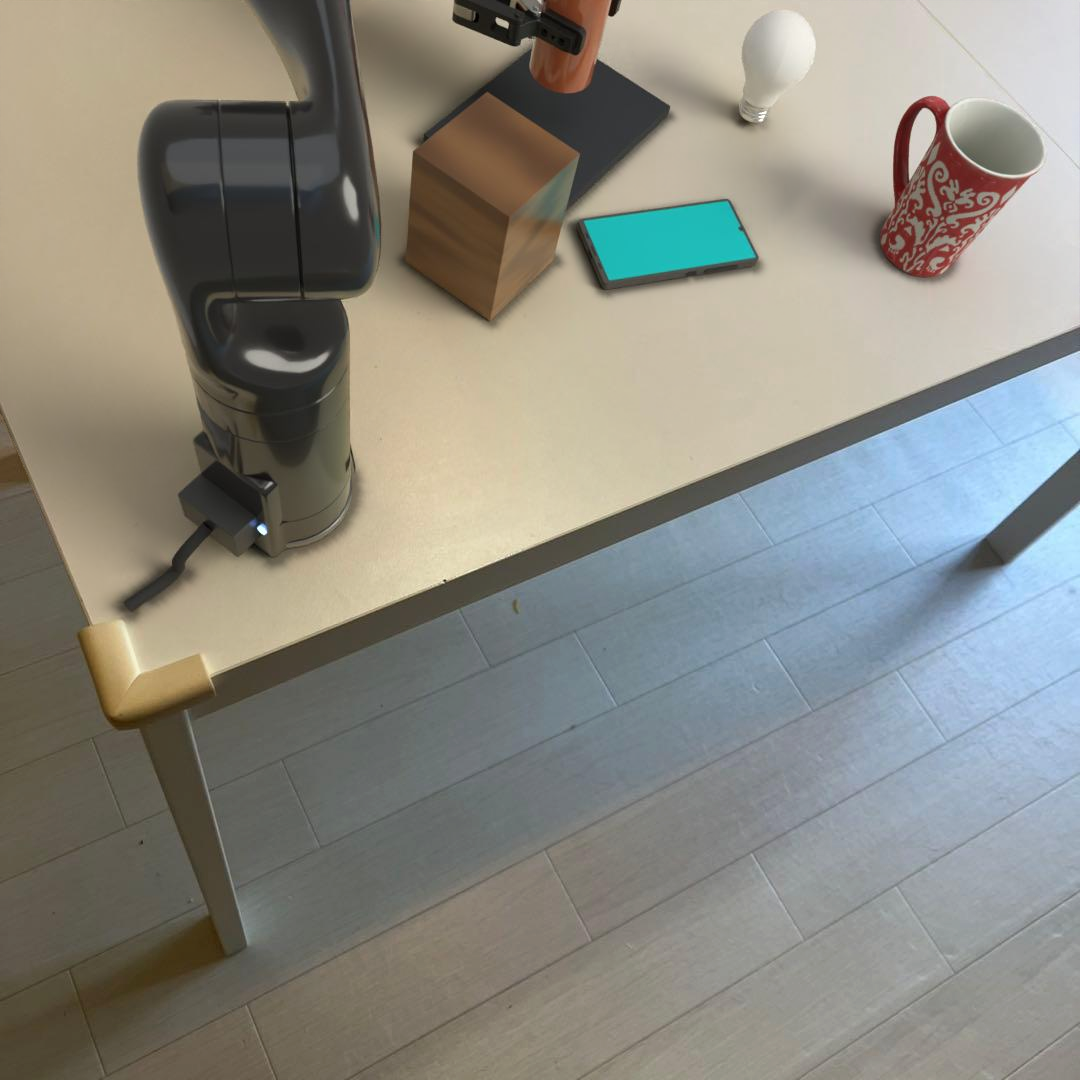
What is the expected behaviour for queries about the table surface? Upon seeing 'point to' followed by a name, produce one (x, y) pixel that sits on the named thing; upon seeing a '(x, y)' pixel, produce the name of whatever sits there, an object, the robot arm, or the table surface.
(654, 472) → the table surface
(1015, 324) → the table surface
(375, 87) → the table surface
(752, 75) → the light bulb
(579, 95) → the placemat
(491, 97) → the wooden block
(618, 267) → the smartphone
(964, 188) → the mug
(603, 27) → the flower pot
